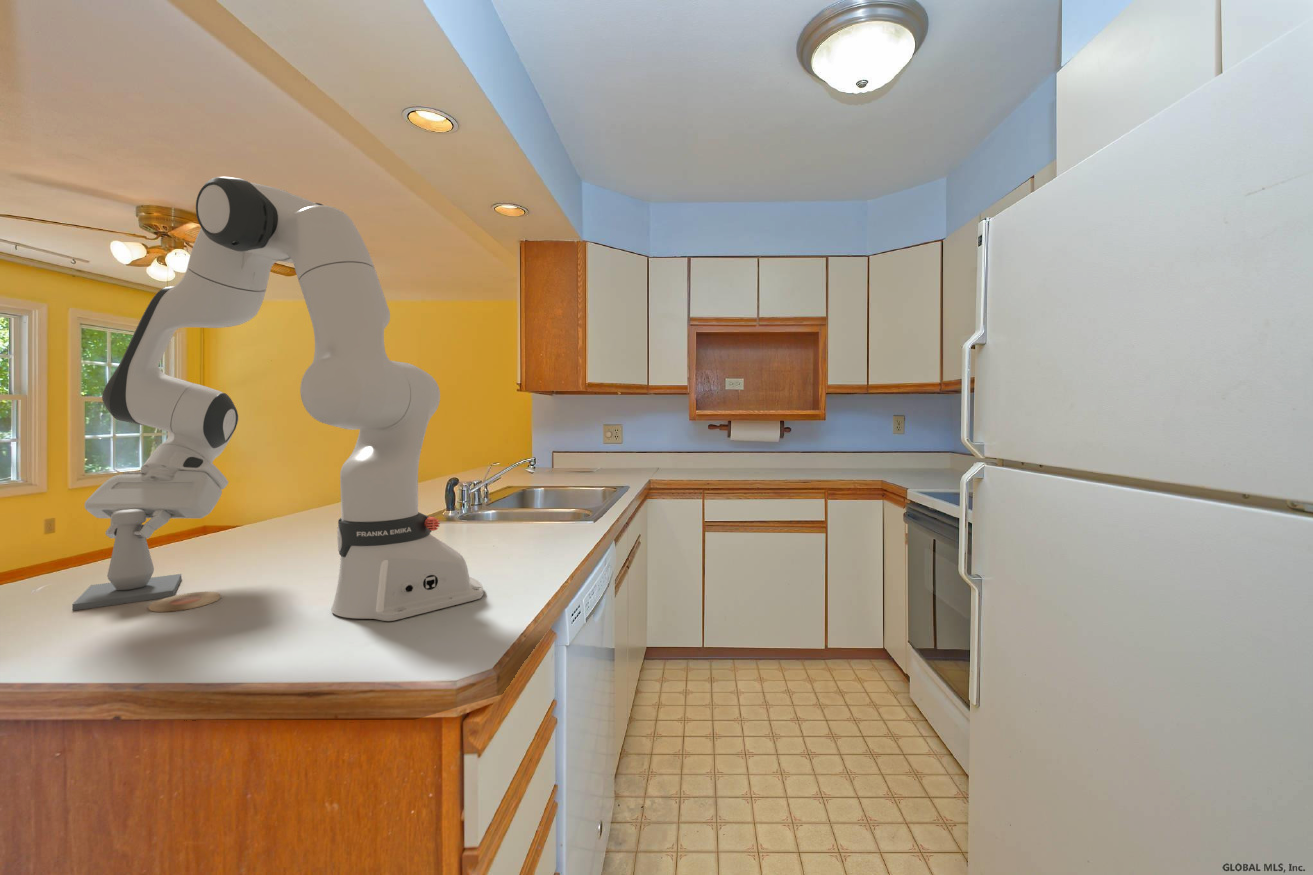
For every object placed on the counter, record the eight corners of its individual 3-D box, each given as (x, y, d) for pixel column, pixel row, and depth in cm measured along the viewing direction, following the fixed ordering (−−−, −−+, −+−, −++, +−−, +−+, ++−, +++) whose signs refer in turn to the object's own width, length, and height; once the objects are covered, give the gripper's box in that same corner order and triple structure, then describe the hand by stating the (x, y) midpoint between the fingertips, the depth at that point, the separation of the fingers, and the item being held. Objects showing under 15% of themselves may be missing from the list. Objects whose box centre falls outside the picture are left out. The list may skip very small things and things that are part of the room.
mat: (181, 579, 105) (181, 573, 105) (173, 596, 96) (173, 590, 96) (91, 590, 99) (91, 585, 99) (72, 610, 89) (72, 604, 89)
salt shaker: (160, 584, 98) (158, 508, 98) (117, 593, 93) (115, 513, 93) (144, 580, 101) (142, 506, 100) (101, 588, 96) (99, 511, 95)
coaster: (222, 590, 99) (222, 588, 99) (219, 604, 91) (219, 602, 91) (153, 600, 94) (153, 598, 94) (144, 616, 86) (144, 614, 86)
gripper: (106, 461, 103) (50, 525, 94) (218, 460, 103) (173, 525, 93) (130, 482, 108) (79, 546, 99) (237, 482, 107) (196, 546, 98)
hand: (126, 536), depth 96 cm, fingers open, 3 cm apart
